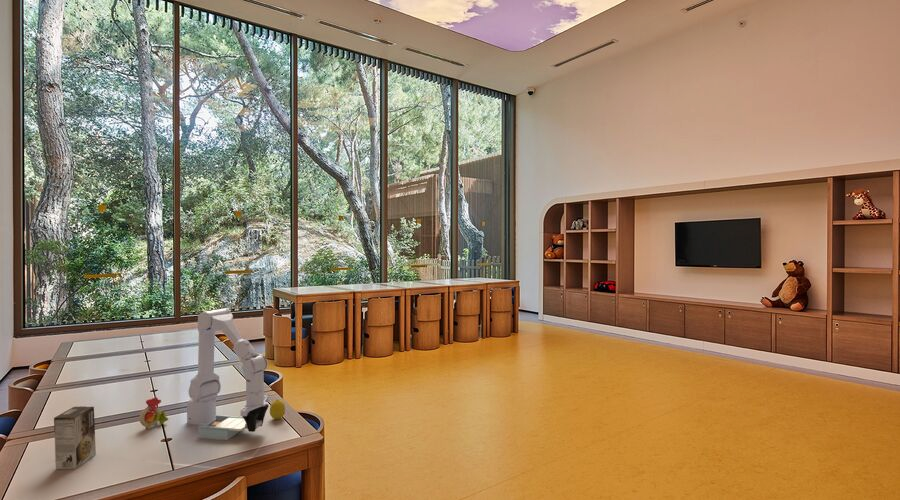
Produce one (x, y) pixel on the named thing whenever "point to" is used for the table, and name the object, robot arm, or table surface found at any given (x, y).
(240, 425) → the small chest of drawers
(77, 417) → the coffee box
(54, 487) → the table surface
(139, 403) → the table surface
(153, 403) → the bird rattle
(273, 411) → the lemon
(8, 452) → the table surface
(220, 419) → the tub
